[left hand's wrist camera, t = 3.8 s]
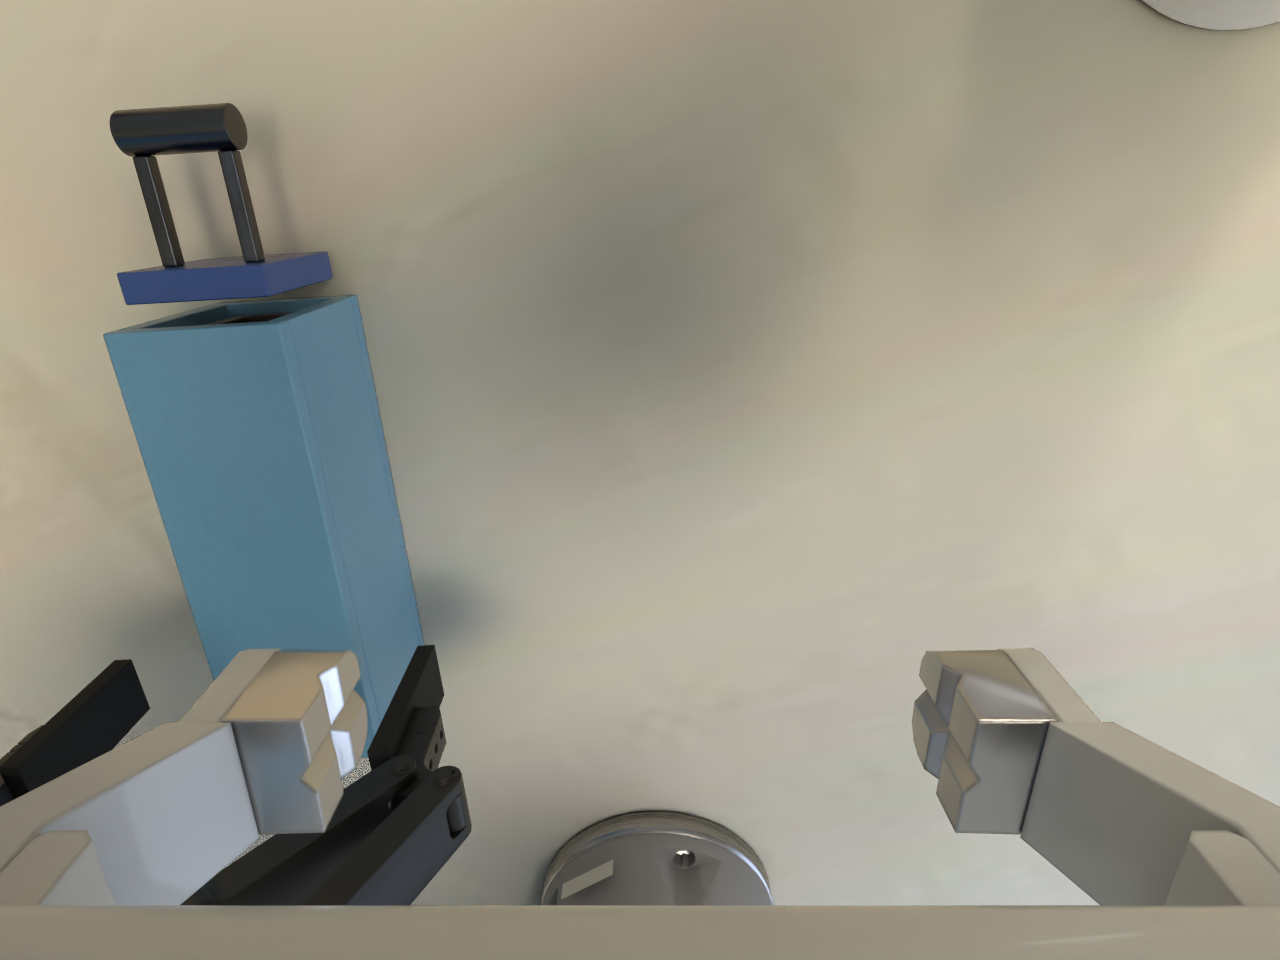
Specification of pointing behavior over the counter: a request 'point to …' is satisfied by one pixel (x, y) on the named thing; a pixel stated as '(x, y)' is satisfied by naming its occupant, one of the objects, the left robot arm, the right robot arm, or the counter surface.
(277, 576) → the light-blue storage box
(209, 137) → the drawer
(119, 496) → the counter surface
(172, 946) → the left robot arm
